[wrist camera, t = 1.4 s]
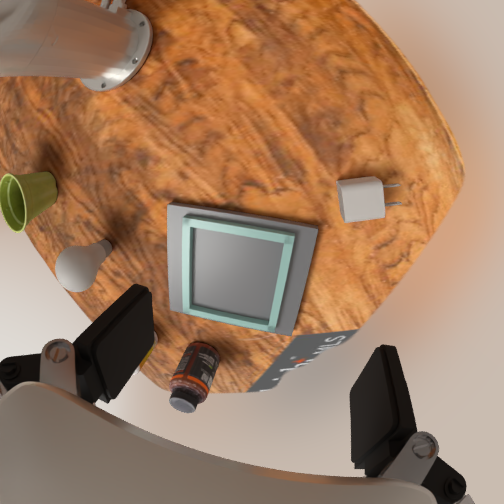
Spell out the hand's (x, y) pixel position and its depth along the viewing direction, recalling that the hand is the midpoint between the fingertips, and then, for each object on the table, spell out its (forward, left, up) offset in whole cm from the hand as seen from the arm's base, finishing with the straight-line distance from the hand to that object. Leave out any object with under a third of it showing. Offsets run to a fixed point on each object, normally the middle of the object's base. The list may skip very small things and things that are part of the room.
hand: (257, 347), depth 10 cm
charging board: (+10, -5, -23) cm, 25 cm away
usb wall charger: (-3, +9, -23) cm, 25 cm away
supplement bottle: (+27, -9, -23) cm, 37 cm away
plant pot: (+2, -39, -23) cm, 45 cm away
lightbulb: (+10, -25, -23) cm, 35 cm away
